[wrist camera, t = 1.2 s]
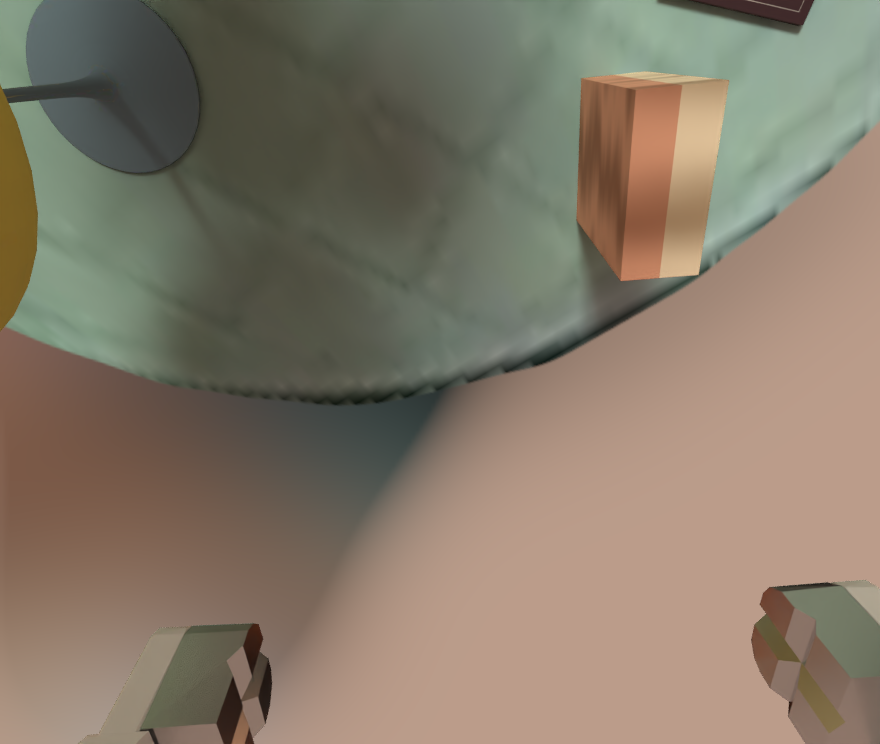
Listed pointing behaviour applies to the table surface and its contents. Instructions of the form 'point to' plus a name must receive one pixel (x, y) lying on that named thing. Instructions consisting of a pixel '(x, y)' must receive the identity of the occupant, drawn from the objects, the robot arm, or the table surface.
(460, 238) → the table surface
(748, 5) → the chocolate bar
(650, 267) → the tan wooden block
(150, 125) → the cocktail glass
